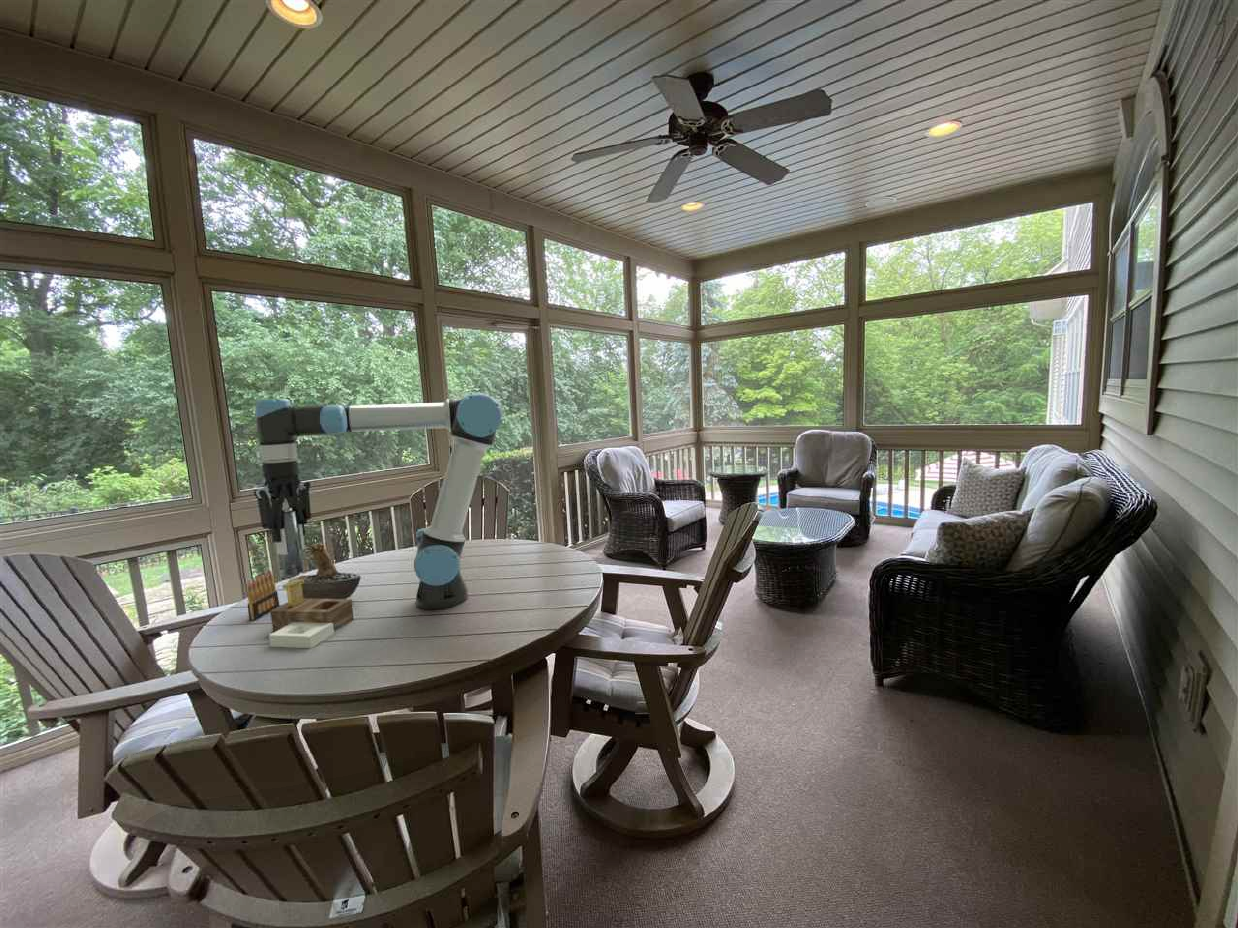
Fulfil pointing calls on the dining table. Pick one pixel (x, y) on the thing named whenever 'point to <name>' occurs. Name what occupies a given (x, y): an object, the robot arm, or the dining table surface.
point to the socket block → (314, 613)
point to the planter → (327, 578)
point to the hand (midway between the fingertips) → (291, 551)
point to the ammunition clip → (261, 596)
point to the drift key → (294, 592)
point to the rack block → (301, 634)
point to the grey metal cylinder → (291, 543)
